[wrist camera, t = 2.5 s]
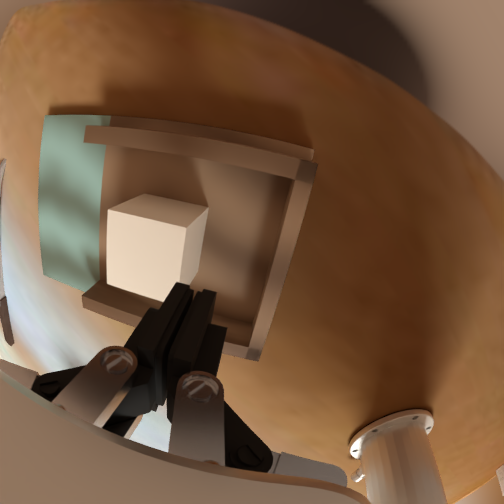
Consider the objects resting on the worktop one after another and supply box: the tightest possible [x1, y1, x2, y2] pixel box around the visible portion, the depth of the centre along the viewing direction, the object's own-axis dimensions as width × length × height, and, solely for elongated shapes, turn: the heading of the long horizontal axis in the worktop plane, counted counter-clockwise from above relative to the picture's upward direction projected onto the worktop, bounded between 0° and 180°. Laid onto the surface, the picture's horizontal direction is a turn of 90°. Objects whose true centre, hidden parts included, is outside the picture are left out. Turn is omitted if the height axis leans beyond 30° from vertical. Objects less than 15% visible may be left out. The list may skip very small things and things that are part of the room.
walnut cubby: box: [38, 115, 318, 361], centre depth 19 cm, size 16×23×4 cm
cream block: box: [107, 194, 209, 302], centre depth 18 cm, size 5×5×5 cm
